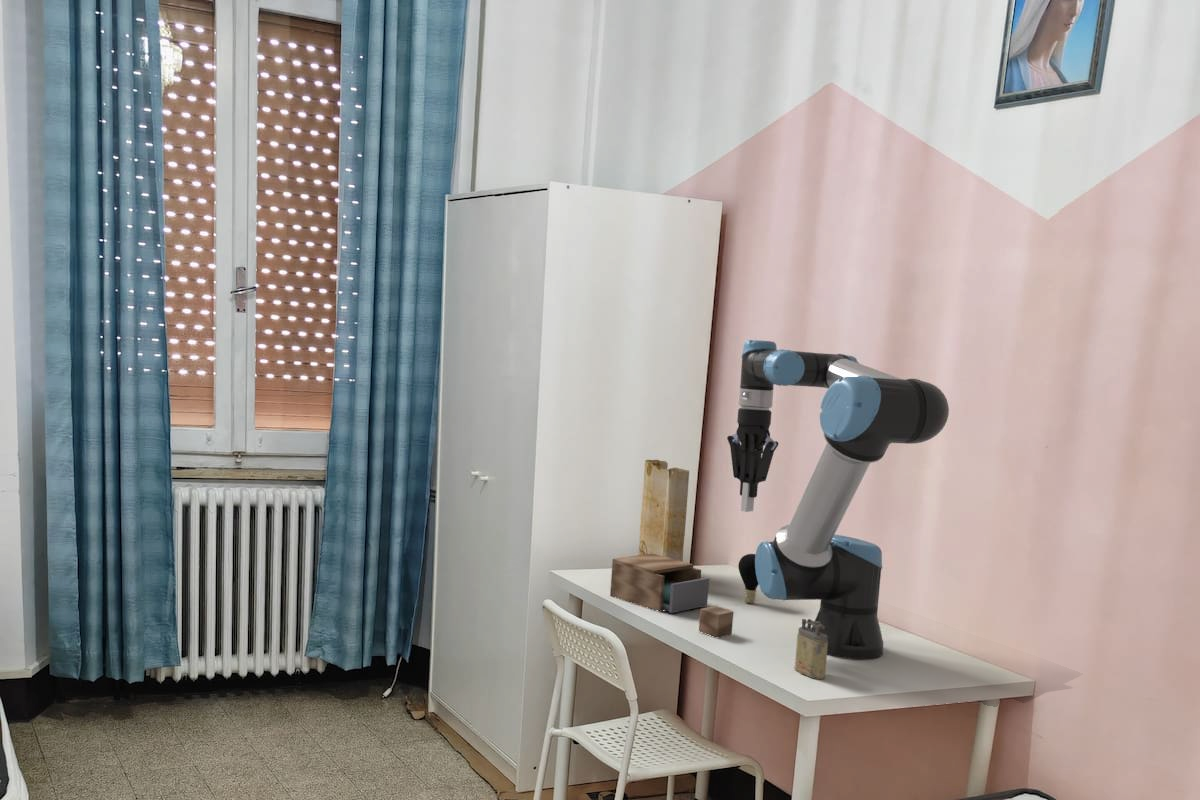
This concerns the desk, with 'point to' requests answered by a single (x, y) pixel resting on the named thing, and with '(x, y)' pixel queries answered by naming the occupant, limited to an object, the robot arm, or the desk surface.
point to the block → (716, 621)
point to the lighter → (811, 650)
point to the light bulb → (748, 576)
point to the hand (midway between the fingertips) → (747, 510)
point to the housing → (648, 578)
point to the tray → (687, 595)
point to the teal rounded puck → (667, 591)
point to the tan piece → (663, 510)
